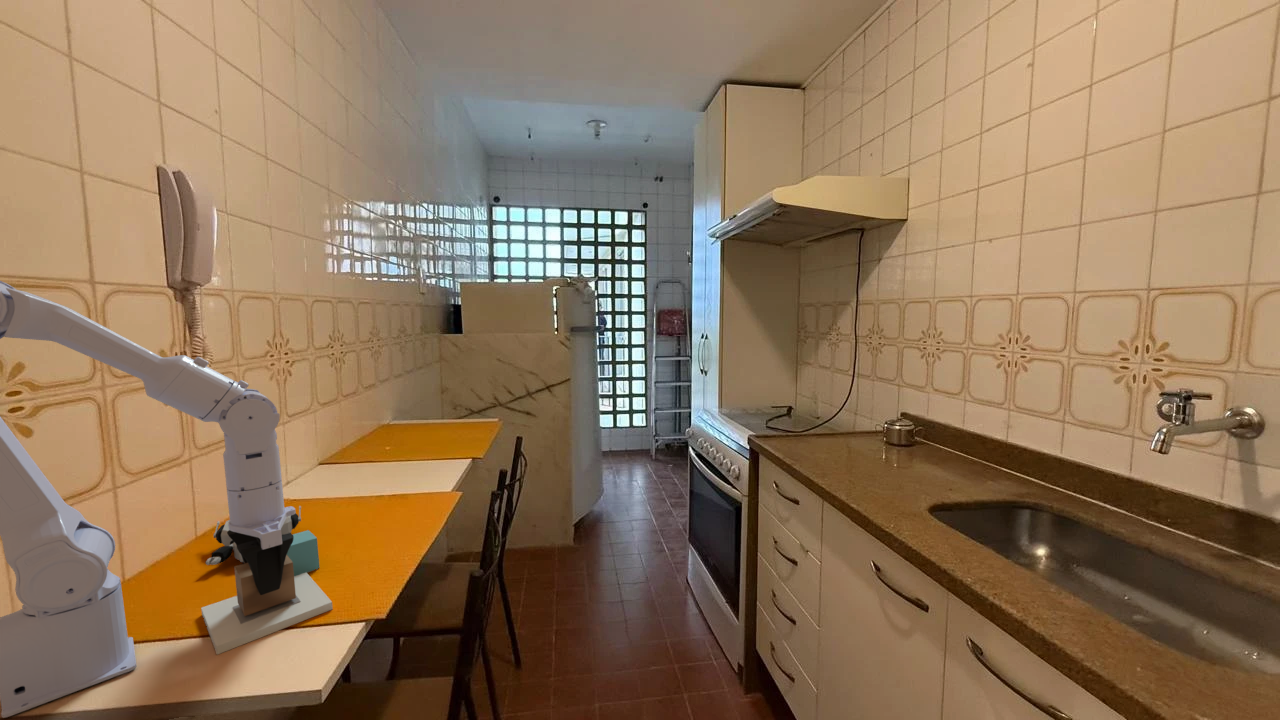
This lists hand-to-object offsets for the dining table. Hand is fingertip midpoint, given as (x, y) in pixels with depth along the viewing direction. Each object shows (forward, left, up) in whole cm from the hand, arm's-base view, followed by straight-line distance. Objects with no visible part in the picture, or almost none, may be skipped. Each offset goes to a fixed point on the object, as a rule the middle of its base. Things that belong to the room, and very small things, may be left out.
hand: (264, 583), depth 67 cm
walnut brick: (0, 0, -2) cm, 2 cm away
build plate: (0, 0, -4) cm, 4 cm away
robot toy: (+3, +25, -4) cm, 25 cm away
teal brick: (+6, +10, -4) cm, 13 cm away
